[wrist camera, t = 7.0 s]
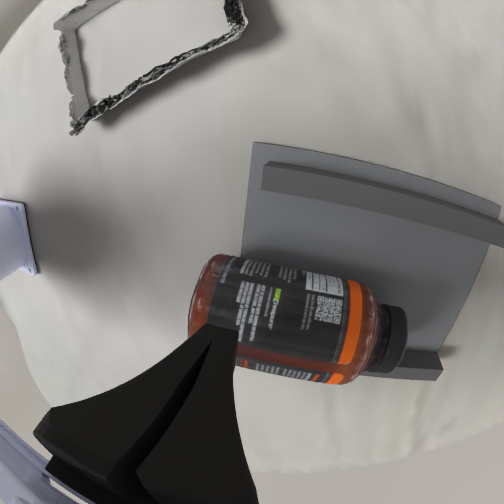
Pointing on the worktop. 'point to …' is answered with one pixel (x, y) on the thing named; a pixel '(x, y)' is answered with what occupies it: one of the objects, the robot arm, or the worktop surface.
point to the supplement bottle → (299, 320)
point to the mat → (372, 237)
